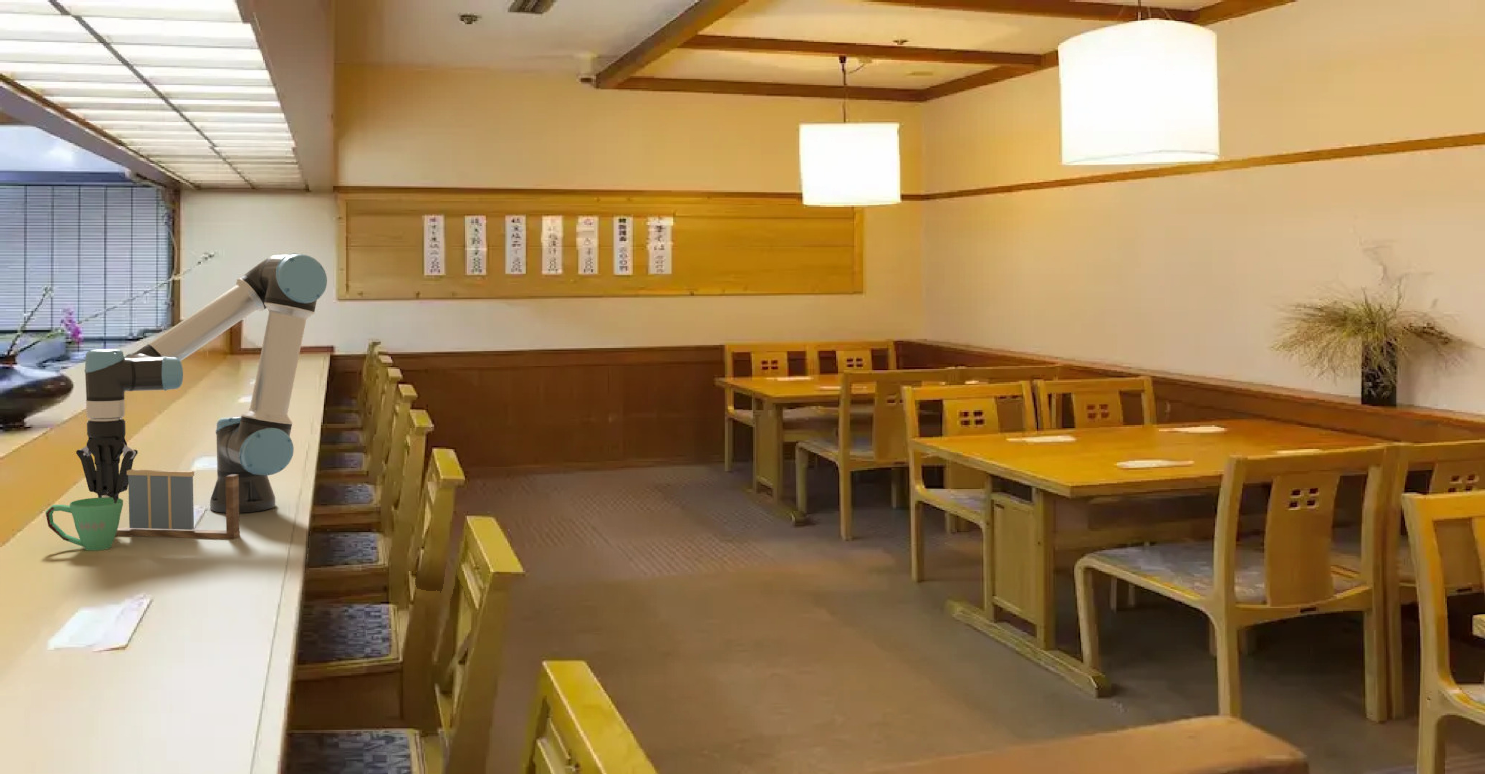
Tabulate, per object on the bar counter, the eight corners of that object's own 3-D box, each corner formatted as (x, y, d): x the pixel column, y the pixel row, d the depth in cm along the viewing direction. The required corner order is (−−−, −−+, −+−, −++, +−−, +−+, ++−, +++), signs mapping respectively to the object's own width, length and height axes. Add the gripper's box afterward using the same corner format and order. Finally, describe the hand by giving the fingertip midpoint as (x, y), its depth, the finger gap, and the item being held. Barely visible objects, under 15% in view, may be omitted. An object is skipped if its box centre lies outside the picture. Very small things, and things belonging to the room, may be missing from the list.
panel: (195, 528, 260) (194, 471, 259) (191, 530, 258) (190, 472, 257) (132, 526, 260) (130, 469, 259) (128, 528, 259) (126, 470, 258)
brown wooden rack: (239, 536, 260) (238, 474, 259) (234, 538, 258) (233, 476, 256) (104, 532, 261) (102, 470, 260) (97, 535, 258) (95, 472, 257)
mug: (129, 542, 252) (128, 496, 251) (116, 552, 243) (115, 505, 242) (54, 544, 249) (53, 498, 248) (38, 554, 239) (37, 507, 238)
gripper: (144, 417, 262) (146, 520, 264) (87, 416, 262) (90, 519, 264) (125, 421, 254) (128, 527, 256) (67, 420, 255) (70, 525, 257)
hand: (109, 523), depth 260 cm, fingers closed
